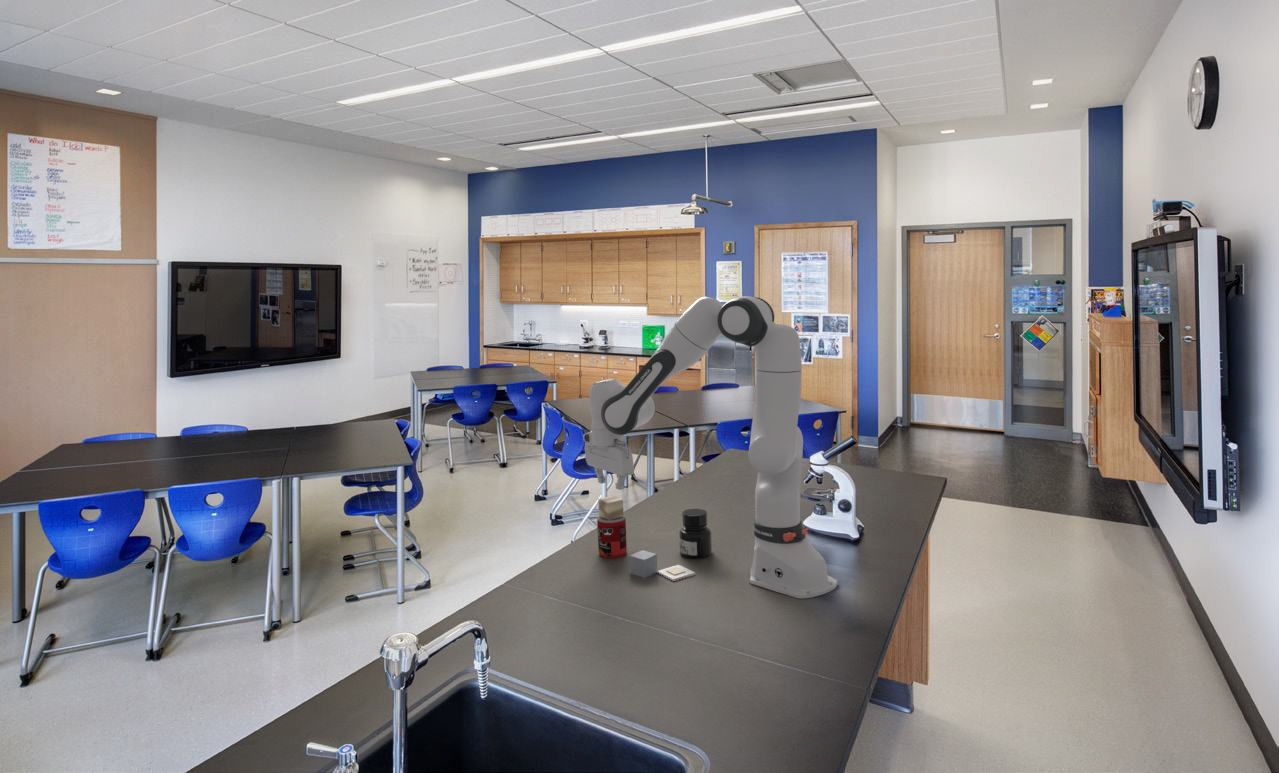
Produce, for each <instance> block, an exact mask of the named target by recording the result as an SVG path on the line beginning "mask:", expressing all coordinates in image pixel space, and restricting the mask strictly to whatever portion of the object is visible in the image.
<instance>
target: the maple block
mask: <svg viewBox="0 0 1279 773" xmlns="http://www.w3.org/2000/svg"><path fill="white" fill-rule="evenodd" d="M597 500H598V503H597V504H598V516H600V517H602V518H604V519H606V520H612V519H616V518H620V517H624V515H625V514H624V499H623V498H620V497H618V496H615V495H610V496H606V497H605V496H604V497H601V498H598V499H597Z"/></svg>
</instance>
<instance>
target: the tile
mask: <svg viewBox="0 0 1279 773" xmlns="http://www.w3.org/2000/svg"><path fill="white" fill-rule="evenodd" d="M656 573H657V574H658V573H659V574H658V575H660V574H661V575H660V576H662V575H663V576H662V577H663V578H665V577H666V579H667V578H668V579H667V580H669V579H670V580H669V581H671V580H672V582H673V581H674V582H677V581H679V579H680V580H682V578H683V579H685V577H686V578H690V577H692V576H695V575H696V572H695V571H693V570H690V569H689V568H686V567H684V566H682V565H681V564H676V565H673V566H669V567H666V568H662V569H659V570H657V572H656ZM676 580H677V581H676Z"/></svg>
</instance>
